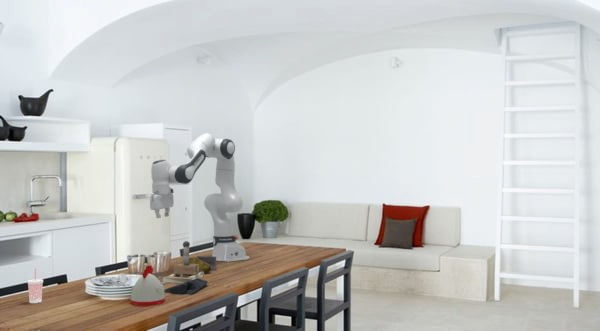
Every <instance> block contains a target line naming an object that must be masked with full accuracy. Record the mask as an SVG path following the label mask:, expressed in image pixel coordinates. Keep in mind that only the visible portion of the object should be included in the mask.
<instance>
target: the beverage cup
mask: <svg viewBox="0 0 600 331" xmlns="http://www.w3.org/2000/svg"><path fill="white" fill-rule="evenodd" d="M43 283H44V279H43V278H37V268H36V267H35V268H34V278H33V279H28V280H27V285H28V286H27V287H28V299H29V303H30V304H38V302H39V303H42V299H43Z"/></svg>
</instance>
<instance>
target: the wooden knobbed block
mask: <svg viewBox="0 0 600 331" xmlns="http://www.w3.org/2000/svg"><path fill="white" fill-rule="evenodd" d="M190 245H191V243H190V242H189V241H187V240H185V241H184V242H183V243H182V247H183V249H182V250H183V262H182V263H178V264H174V265H173V274H183V276H182V277H184V276H185V277H190V276H193V275H195V274H197V273H199V264H189V258H190Z"/></svg>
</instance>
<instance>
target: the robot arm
mask: <svg viewBox="0 0 600 331" xmlns="http://www.w3.org/2000/svg"><path fill="white" fill-rule="evenodd" d="M235 151H236V145H235V142H234V141H233V140H231V139H229V138H215V137H214V136H213V135H212V134H211V133H208V132H206V133H205V132H204V133H203V134H201V135H199V136H197V137H196V138H195V139H194V140H193V141H191V143H190V144H188V146H187V148H186V153H187V156H188V158H189V161H188V162H187V163H185V164H181V165H174V164H170V163H169V162H168V161H167V160H166V159H159V160H154V161H153V162H152V163H151V168H150V170H151V171H150V173H151V179H152V183H151V189H152V194H151V196H150V198H149V208H150V210H151V211H154V213H155V218H156V219H160V218H161V213H160V212H161V211H160V210H163V209H164V217H165V218H166V217H169V216H170V214H169V213H170V208H173V207H174V193H175V191H174V190H175V189H173V188H172V187H170V185H172V184H173V185H174V184H175V185H177V184H184V185H188V184H190V183H191V182H192V180H193V179H194V176H195V174H196V172H198V170H199V169H200V167H201V166H202V165H203V163H204V162H205V160H206V158H213V159H216V167H215V178H214V180H215V185H216V186H218V187H219V189H220V193H210V194H208V195H206V196H205V197H204V201H203V202H204V203H203V205H204V207H205V209H206V210H207V211H208V213H210V216H211V219H212V222H213V236H212V237H213V238H212V244H213V249H212V255H211V256H214V257H216V262H228V263H229V262H236V261H237V262H239V261H246V260H247V261H248V260H250V256H249V255H247V252H246V249H245V248H244V246H242V245H241V244H240V243H238V242H237V241H238V240H239V236H237V235H234V233H233V231H234V229H233V227H234V224H233V221H232V220H231V219H230V218H229V216H228V214H227V213H229V214H232V213H237V212H240V211H241V210H242V208H243V204H244V202H243V199H242V197H241V195H239V193H238V192H237V188H236V186H235V185H236V184H235V172H236V171H235V169H236V168H235V166H236V164H235V155H234V154H235Z"/></svg>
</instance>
